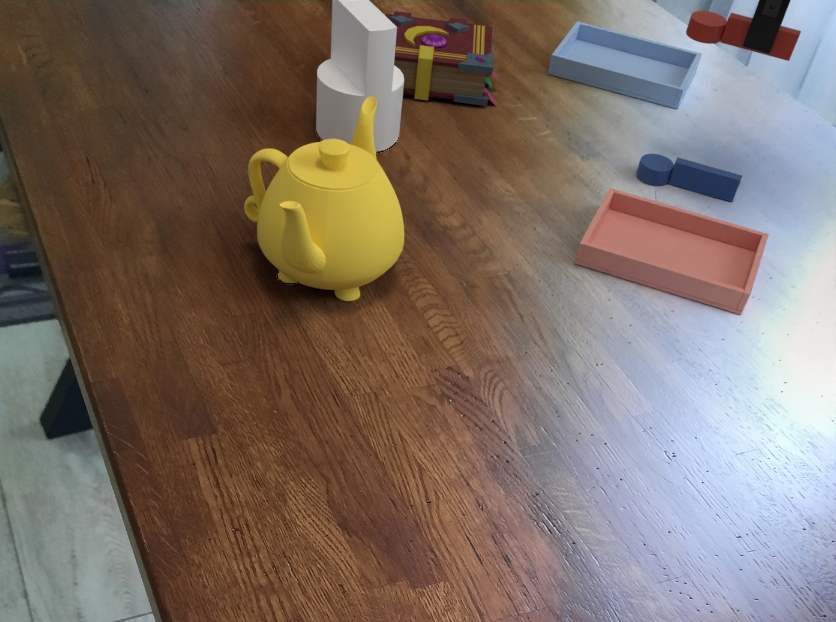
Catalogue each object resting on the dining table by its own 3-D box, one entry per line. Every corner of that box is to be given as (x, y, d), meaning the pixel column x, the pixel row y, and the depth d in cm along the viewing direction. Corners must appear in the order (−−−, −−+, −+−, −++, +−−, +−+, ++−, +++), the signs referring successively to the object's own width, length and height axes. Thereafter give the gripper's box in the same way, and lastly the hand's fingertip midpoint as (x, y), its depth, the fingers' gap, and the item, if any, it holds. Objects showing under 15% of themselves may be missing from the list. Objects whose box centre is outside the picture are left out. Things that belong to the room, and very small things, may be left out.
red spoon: (792, 52, 93) (803, 26, 91) (786, 66, 91) (797, 39, 89) (690, 24, 95) (698, -2, 93) (682, 37, 93) (690, 11, 91)
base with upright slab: (413, 147, 99) (425, 24, 90) (336, 160, 96) (341, 35, 87) (376, 107, 104) (385, -13, 94) (302, 119, 101) (303, -4, 91)
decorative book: (364, 49, 112) (367, 4, 108) (496, 65, 113) (504, 20, 109) (355, 93, 105) (358, 46, 101) (496, 110, 106) (504, 64, 102)
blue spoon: (736, 191, 99) (744, 170, 97) (730, 207, 97) (738, 186, 95) (640, 164, 101) (647, 142, 99) (632, 179, 99) (639, 157, 97)
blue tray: (696, 72, 116) (702, 53, 114) (677, 109, 109) (683, 90, 108) (572, 39, 119) (577, 20, 117) (547, 73, 112) (551, 54, 111)
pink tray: (759, 253, 92) (769, 233, 90) (740, 315, 86) (750, 294, 84) (603, 207, 95) (609, 187, 93) (574, 263, 89) (579, 242, 87)
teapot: (288, 192, 92) (288, 71, 83) (430, 231, 90) (445, 110, 81) (197, 304, 80) (185, 177, 71) (357, 351, 78) (366, 226, 69)
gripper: (841, -299, 78) (734, 10, 97) (818, -270, 70) (706, 62, 89) (932, -282, 77) (806, 28, 95) (919, -250, 68) (784, 83, 87)
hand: (758, 44), depth 92 cm, fingers closed on red spoon, 1 cm apart
